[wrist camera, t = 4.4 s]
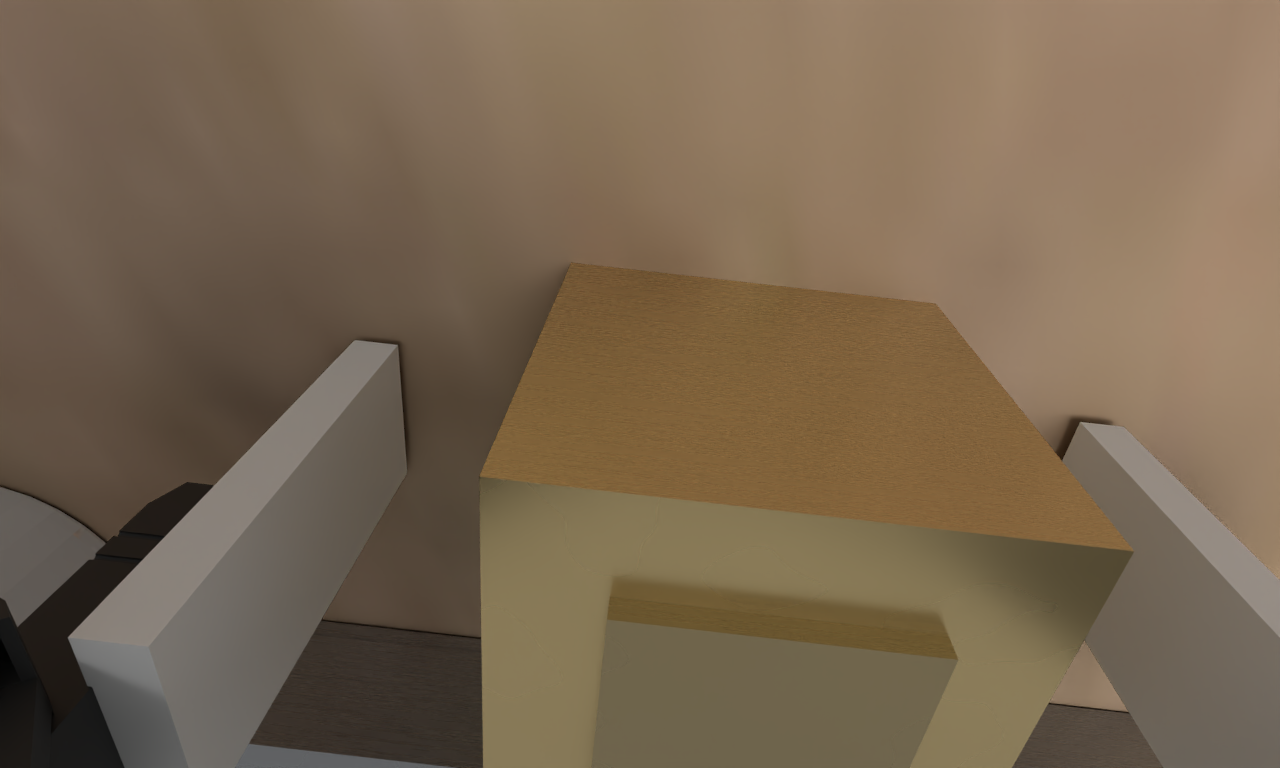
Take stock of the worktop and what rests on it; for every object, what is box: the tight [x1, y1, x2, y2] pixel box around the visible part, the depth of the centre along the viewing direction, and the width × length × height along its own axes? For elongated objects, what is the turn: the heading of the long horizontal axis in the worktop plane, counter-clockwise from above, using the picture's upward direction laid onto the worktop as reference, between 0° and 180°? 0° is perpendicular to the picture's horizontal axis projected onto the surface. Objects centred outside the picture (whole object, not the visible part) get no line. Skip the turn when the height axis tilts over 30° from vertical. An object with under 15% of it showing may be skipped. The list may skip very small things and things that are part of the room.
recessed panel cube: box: [479, 263, 1134, 768], centre depth 10 cm, size 6×6×6 cm
